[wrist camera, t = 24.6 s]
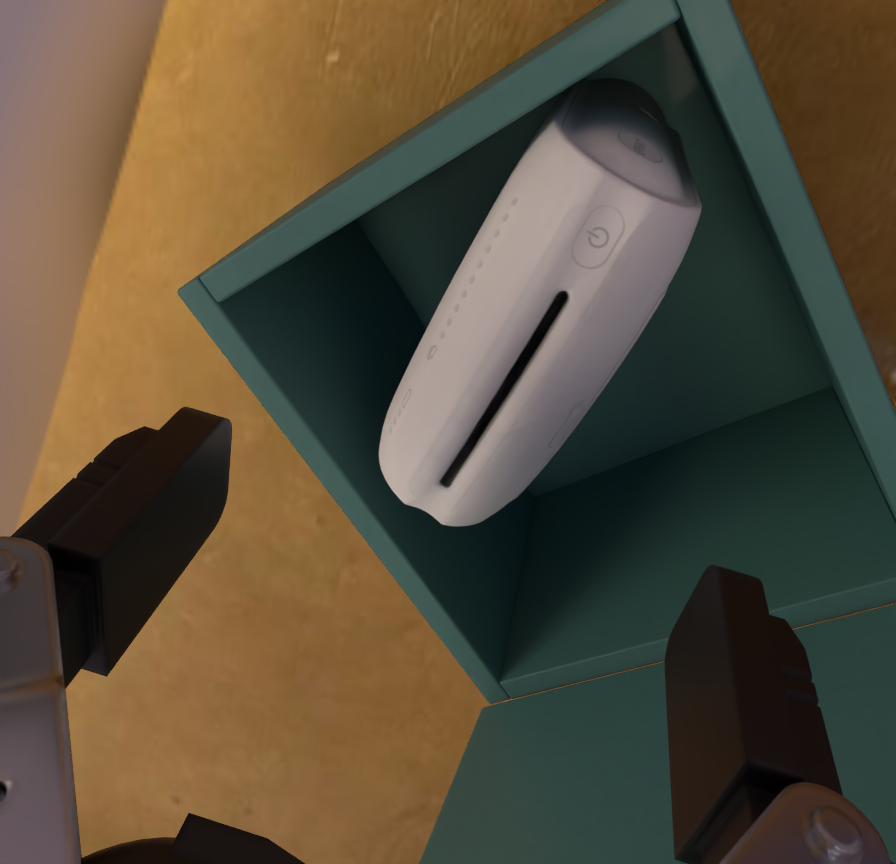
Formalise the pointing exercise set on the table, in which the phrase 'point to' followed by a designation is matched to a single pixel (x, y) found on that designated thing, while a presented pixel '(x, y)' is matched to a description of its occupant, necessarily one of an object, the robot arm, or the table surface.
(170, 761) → the table surface
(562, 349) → the photo printer
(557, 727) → the lid
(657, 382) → the chest
